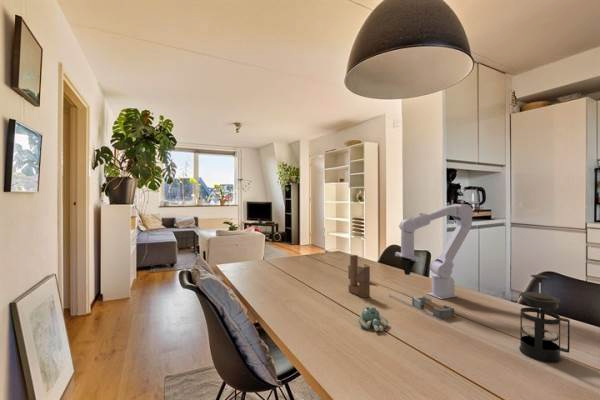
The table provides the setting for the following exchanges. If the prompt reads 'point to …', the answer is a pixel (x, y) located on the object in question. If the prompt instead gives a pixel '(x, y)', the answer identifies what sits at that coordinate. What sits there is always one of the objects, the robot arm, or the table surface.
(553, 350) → the french press
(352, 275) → the wooden block
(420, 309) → the track
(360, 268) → the architectural model on board
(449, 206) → the robot arm
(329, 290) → the table surface
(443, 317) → the grey c-shaped bracket
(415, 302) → the cap
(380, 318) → the stuffed animal
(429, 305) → the brown bar
